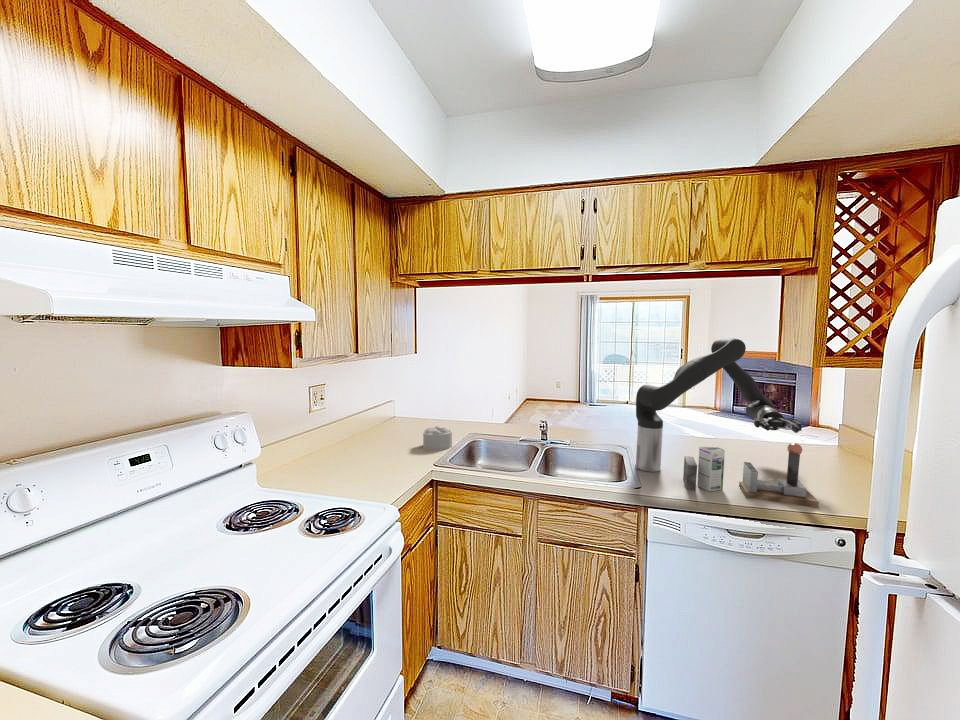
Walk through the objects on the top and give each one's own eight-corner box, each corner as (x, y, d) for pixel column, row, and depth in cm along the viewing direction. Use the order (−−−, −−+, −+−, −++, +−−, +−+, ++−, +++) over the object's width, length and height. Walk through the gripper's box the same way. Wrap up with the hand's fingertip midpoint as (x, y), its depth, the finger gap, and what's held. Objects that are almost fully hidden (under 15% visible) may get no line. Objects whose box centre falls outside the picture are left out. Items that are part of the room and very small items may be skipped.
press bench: (686, 489, 146) (687, 464, 145) (683, 479, 155) (684, 455, 154) (818, 507, 132) (821, 480, 131) (806, 495, 142) (808, 469, 141)
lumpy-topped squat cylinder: (424, 443, 196) (424, 425, 196) (451, 443, 197) (452, 425, 196) (422, 450, 186) (422, 431, 185) (451, 450, 187) (452, 431, 186)
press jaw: (749, 491, 139) (753, 442, 137) (742, 480, 148) (745, 435, 146) (807, 499, 133) (812, 448, 132) (796, 487, 142) (800, 440, 141)
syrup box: (709, 491, 144) (712, 451, 142) (696, 485, 150) (699, 446, 148) (722, 490, 145) (725, 449, 144) (709, 483, 151) (712, 444, 150)
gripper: (749, 407, 167) (759, 417, 152) (792, 410, 161) (807, 420, 146) (748, 425, 168) (758, 437, 153) (791, 429, 162) (805, 441, 147)
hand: (782, 429), depth 150 cm, fingers open, 8 cm apart
